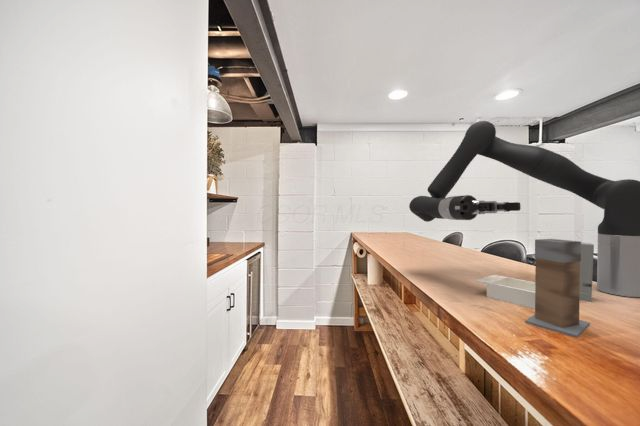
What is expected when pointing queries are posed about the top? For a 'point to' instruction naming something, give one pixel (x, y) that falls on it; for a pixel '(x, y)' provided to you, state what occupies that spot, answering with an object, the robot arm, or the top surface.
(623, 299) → the top surface
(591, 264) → the skincare box
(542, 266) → the capped block
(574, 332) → the mat
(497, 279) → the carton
